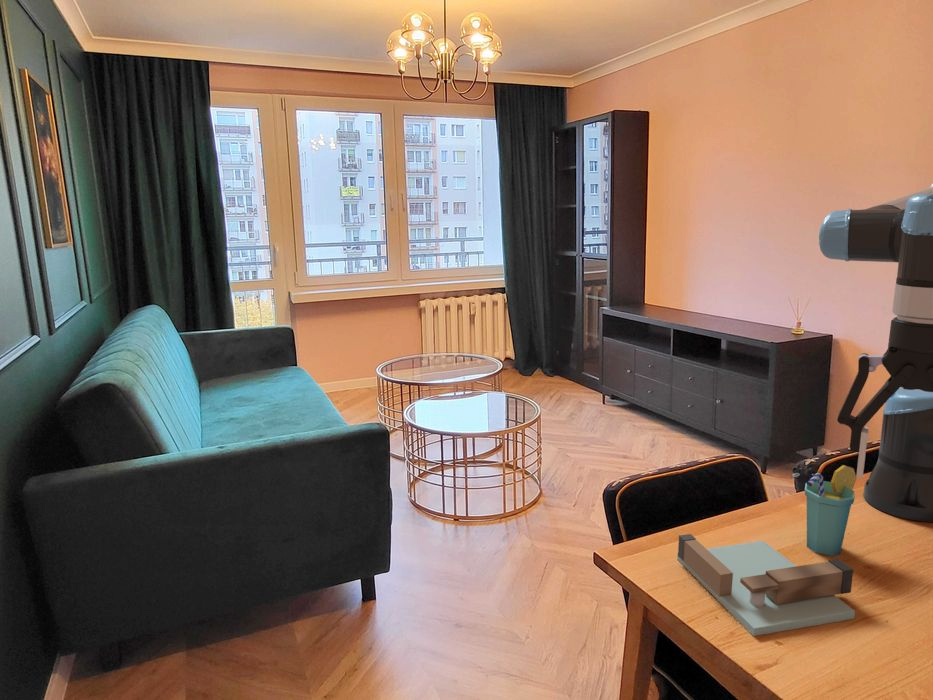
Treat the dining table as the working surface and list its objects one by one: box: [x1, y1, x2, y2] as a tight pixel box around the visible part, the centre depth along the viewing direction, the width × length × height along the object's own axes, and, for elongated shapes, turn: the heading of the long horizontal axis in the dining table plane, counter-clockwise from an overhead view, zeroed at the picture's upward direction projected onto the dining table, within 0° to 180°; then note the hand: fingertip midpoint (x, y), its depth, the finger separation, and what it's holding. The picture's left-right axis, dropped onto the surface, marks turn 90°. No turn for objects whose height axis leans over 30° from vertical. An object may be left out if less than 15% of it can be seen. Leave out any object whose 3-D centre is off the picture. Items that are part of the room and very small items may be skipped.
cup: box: [804, 464, 857, 557], centre depth 105 cm, size 14×8×15 cm, turn 127°
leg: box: [740, 558, 854, 604], centre depth 92 cm, size 16×3×4 cm, turn 101°
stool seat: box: [676, 533, 856, 637], centre depth 96 cm, size 16×20×5 cm
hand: (905, 482), depth 84 cm, fingers open, 10 cm apart
